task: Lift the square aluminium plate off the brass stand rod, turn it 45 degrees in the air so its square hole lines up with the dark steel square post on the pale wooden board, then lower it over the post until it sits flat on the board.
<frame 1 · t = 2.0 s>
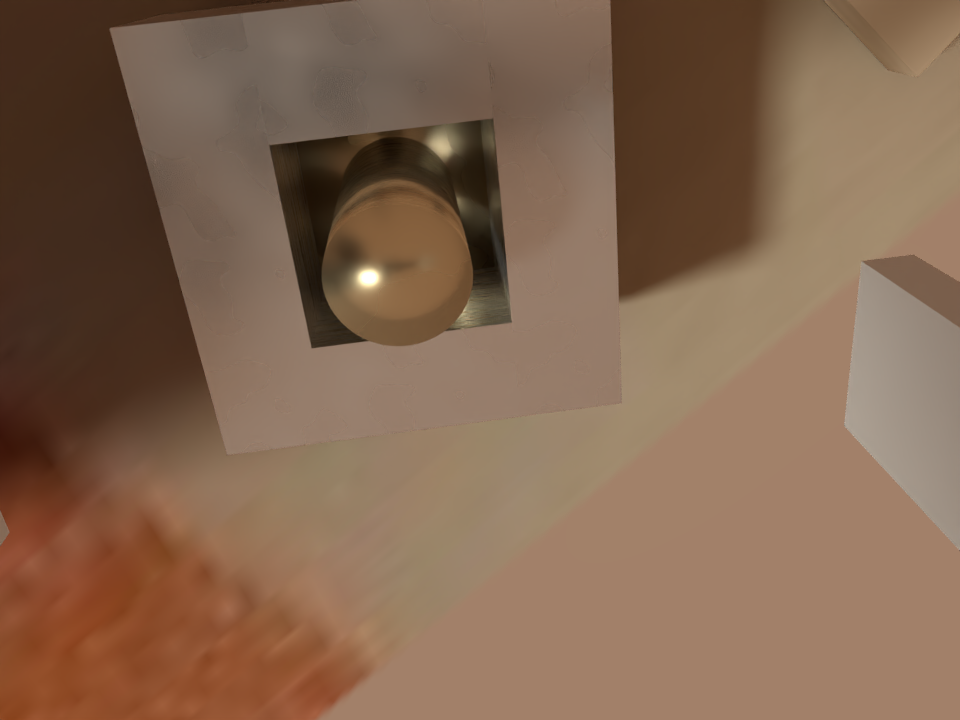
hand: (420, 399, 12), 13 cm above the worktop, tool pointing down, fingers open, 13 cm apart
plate: (397, 193, 23), point 1 cm above the worktop, touching stand
stand: (397, 179, 24), on the worktop
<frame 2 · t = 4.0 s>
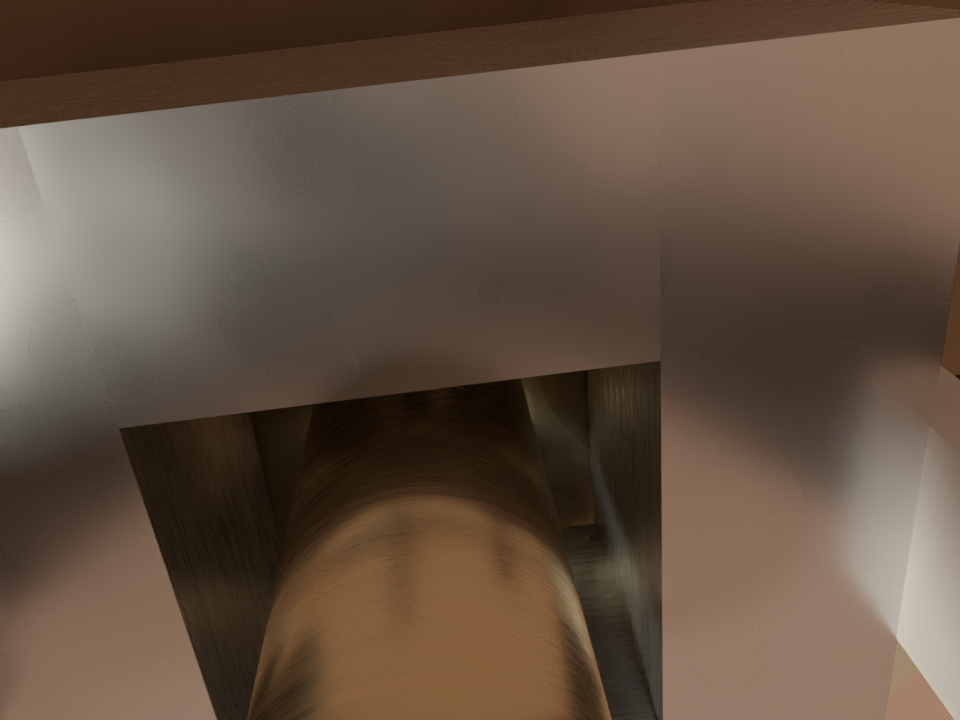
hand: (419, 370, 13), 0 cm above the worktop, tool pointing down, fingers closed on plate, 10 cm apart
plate: (421, 409, 12), point 2 cm above the worktop, touching gripper
stand: (419, 363, 13), on the worktop
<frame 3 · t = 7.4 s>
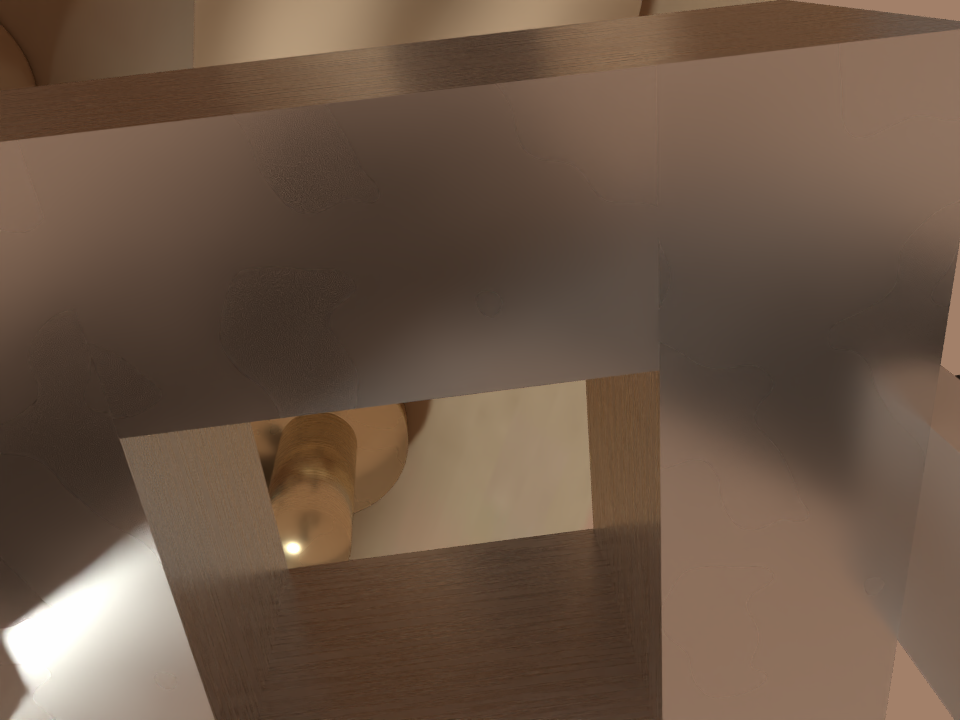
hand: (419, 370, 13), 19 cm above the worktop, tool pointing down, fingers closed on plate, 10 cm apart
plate: (421, 415, 12), point 20 cm above the worktop, touching gripper
stand: (321, 426, 34), on the worktop
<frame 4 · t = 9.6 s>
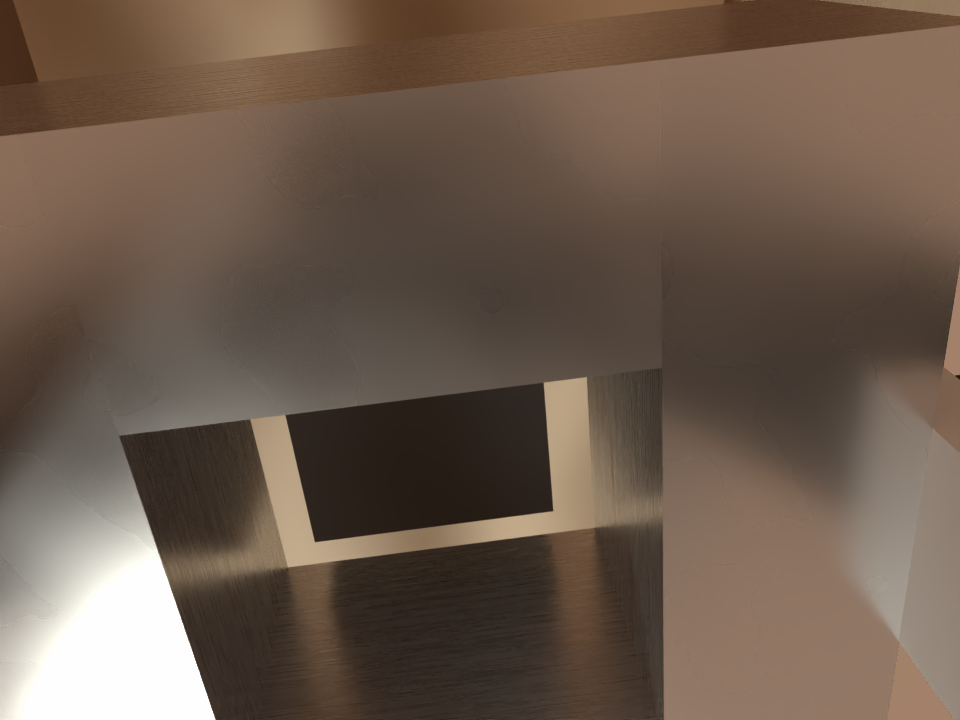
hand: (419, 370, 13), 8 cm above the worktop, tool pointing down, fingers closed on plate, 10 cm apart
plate: (421, 414, 12), point 9 cm above the worktop, touching gripper
hub base: (413, 227, 20), on the worktop
when the fingers open (3 cm above the worktop, at t = 11.2 s): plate drops 2 cm, resting on hub base.
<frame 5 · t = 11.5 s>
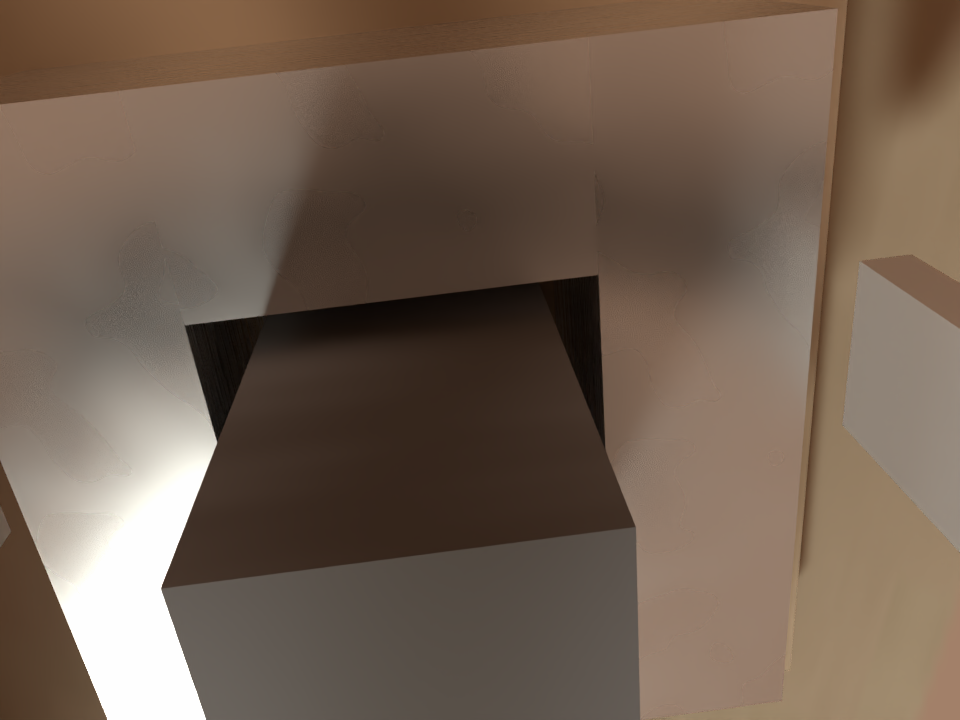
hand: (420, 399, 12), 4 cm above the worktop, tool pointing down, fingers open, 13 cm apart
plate: (416, 343, 14), point 1 cm above the worktop, touching hub base
hub base: (417, 305, 16), on the worktop
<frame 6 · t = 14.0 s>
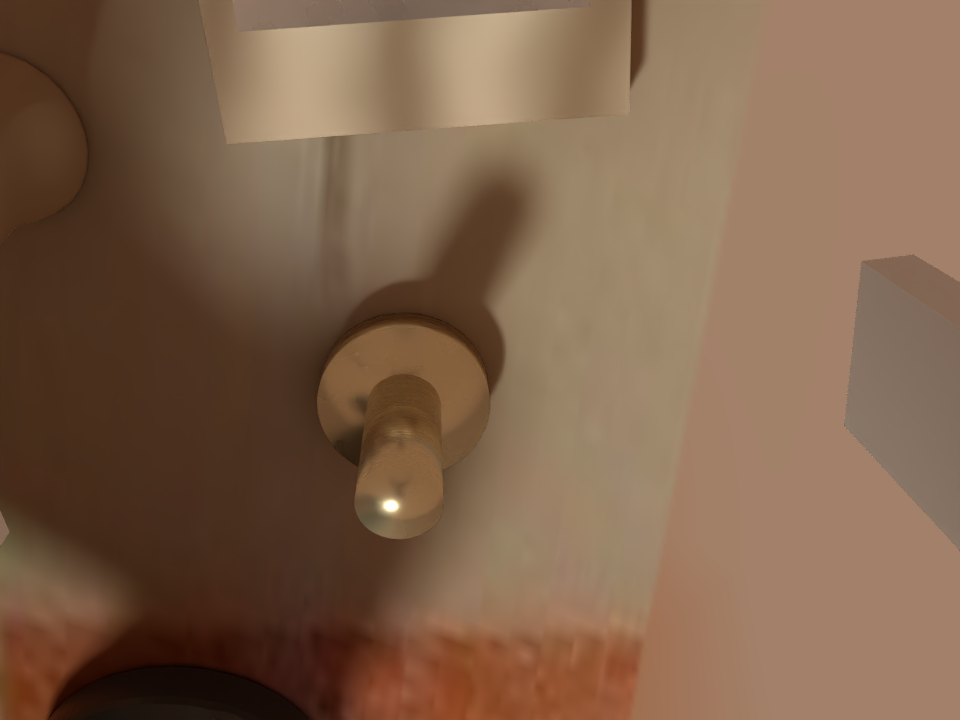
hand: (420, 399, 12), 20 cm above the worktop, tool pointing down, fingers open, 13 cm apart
beer glass: (3, 137, 30), on the worktop
stand: (405, 388, 36), on the worktop
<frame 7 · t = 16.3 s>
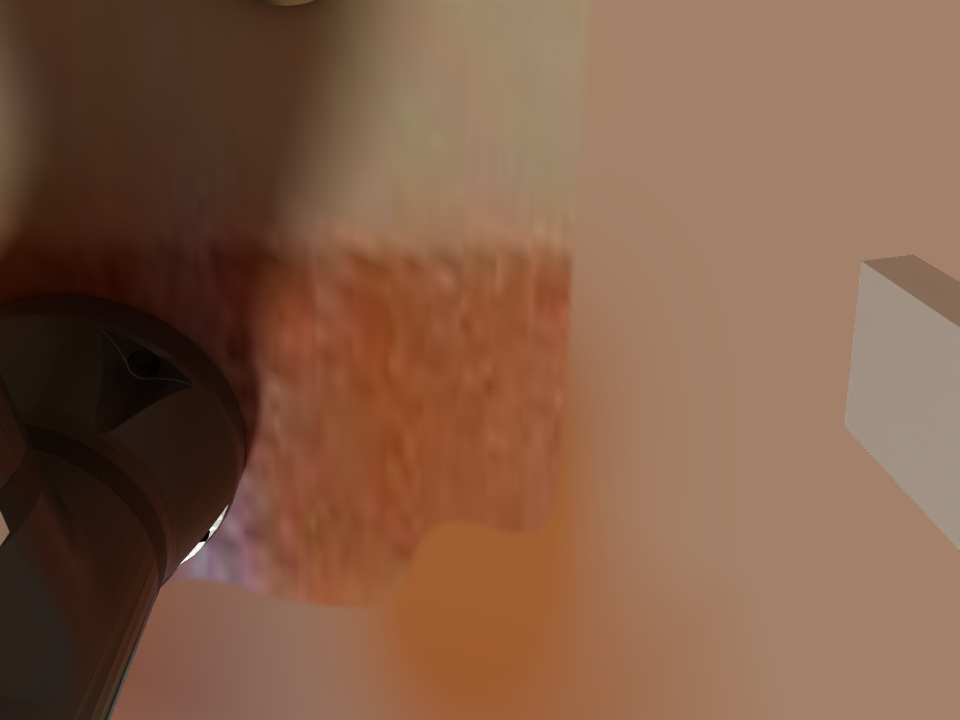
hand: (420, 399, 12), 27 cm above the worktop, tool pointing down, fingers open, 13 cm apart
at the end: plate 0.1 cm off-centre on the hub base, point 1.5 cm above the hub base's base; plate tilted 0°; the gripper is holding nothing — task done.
